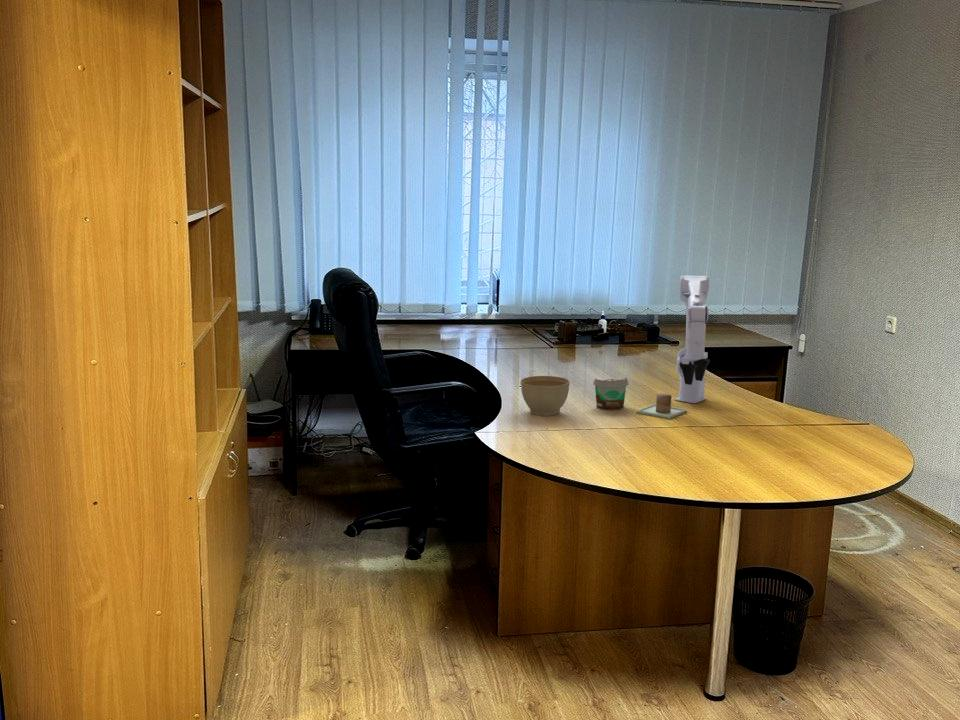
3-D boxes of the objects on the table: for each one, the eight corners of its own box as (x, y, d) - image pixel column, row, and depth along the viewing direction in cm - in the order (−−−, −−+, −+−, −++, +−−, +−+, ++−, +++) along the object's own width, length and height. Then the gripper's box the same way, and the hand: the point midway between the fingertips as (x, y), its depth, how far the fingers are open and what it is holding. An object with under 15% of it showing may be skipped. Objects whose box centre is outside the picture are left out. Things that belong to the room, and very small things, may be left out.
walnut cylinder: (658, 408, 296) (659, 392, 295) (672, 410, 293) (673, 394, 292) (653, 412, 292) (654, 395, 290) (668, 414, 289) (669, 397, 288)
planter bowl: (538, 404, 303) (539, 373, 301) (578, 412, 293) (579, 380, 291) (510, 413, 290) (510, 381, 288) (550, 421, 280) (551, 388, 278)
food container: (599, 411, 293) (600, 382, 291) (592, 407, 299) (593, 378, 297) (633, 409, 297) (634, 380, 295) (625, 405, 302) (627, 376, 300)
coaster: (654, 406, 301) (654, 403, 301) (686, 412, 294) (686, 409, 294) (636, 412, 292) (636, 410, 292) (669, 419, 285) (669, 416, 285)
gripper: (697, 346, 282) (694, 387, 285) (717, 340, 293) (714, 380, 296) (677, 343, 287) (674, 384, 289) (697, 338, 298) (695, 377, 300)
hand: (693, 382), depth 293 cm, fingers open, 7 cm apart
